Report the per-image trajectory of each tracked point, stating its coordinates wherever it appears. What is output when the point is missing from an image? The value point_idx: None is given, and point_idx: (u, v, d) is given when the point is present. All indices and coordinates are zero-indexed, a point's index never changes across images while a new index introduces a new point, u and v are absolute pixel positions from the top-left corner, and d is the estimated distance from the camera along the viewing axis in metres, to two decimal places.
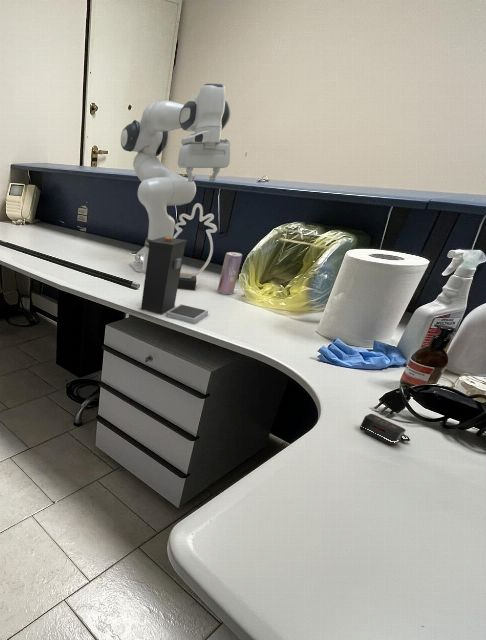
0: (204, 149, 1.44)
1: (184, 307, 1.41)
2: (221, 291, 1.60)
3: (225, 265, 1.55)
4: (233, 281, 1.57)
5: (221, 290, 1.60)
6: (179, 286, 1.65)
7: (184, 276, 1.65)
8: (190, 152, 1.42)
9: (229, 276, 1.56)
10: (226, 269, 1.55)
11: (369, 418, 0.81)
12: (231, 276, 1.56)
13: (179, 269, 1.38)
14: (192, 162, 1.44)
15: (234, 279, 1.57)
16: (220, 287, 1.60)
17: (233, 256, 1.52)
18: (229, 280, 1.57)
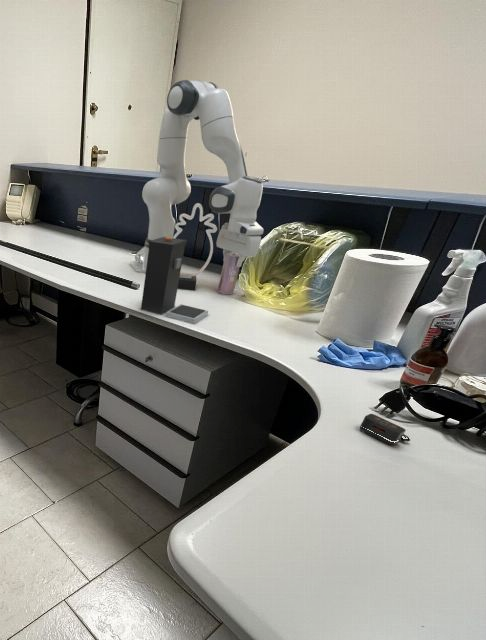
0: None
1: (184, 307, 1.41)
2: (221, 291, 1.60)
3: (225, 265, 1.55)
4: (233, 281, 1.57)
5: (221, 290, 1.60)
6: (179, 286, 1.65)
7: (184, 276, 1.65)
8: None
9: (229, 276, 1.56)
10: (226, 269, 1.55)
11: (369, 418, 0.81)
12: (231, 276, 1.56)
13: (179, 269, 1.38)
14: None
15: (234, 279, 1.57)
16: (220, 287, 1.60)
17: (233, 256, 1.52)
18: (229, 280, 1.57)
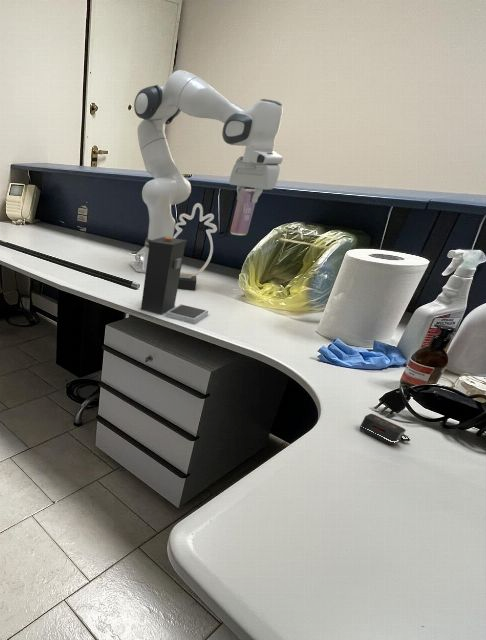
0: None
1: (184, 307, 1.41)
2: (234, 232, 1.49)
3: (239, 202, 1.44)
4: (247, 220, 1.46)
5: (234, 231, 1.49)
6: (179, 286, 1.65)
7: (184, 276, 1.65)
8: None
9: (243, 214, 1.45)
10: (241, 206, 1.44)
11: (369, 418, 0.81)
12: (245, 214, 1.45)
13: (179, 269, 1.38)
14: None
15: (249, 218, 1.45)
16: (234, 228, 1.49)
17: (248, 191, 1.41)
18: (243, 219, 1.46)
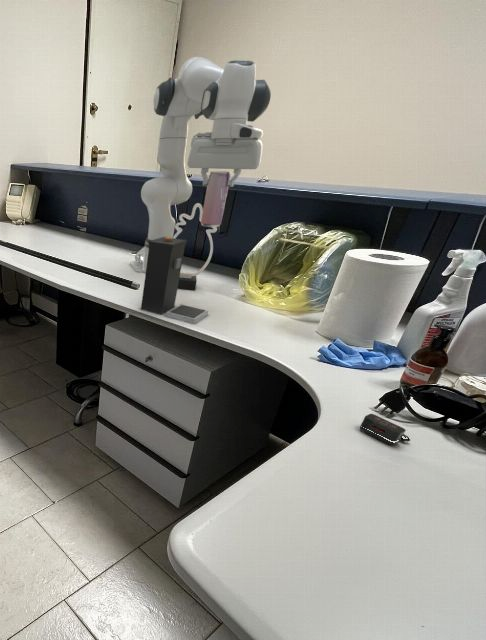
0: None
1: (184, 307, 1.41)
2: (211, 224, 1.24)
3: (215, 187, 1.20)
4: (223, 208, 1.23)
5: (211, 222, 1.24)
6: (179, 286, 1.65)
7: (184, 276, 1.65)
8: None
9: (220, 201, 1.21)
10: (217, 193, 1.20)
11: (369, 418, 0.81)
12: (222, 201, 1.21)
13: (179, 269, 1.38)
14: None
15: (224, 205, 1.23)
16: (210, 219, 1.24)
17: (225, 173, 1.17)
18: (220, 207, 1.22)
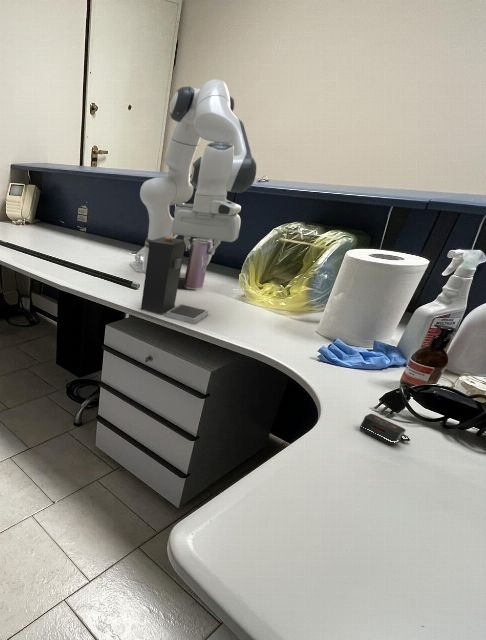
0: None
1: (184, 307, 1.41)
2: (193, 287, 1.31)
3: (196, 255, 1.26)
4: None
5: (193, 286, 1.31)
6: (179, 286, 1.65)
7: (184, 276, 1.65)
8: None
9: (202, 267, 1.28)
10: (199, 260, 1.27)
11: (369, 418, 0.81)
12: (204, 267, 1.28)
13: (179, 269, 1.38)
14: None
15: (205, 270, 1.30)
16: (192, 282, 1.30)
17: (206, 243, 1.24)
18: (202, 273, 1.29)
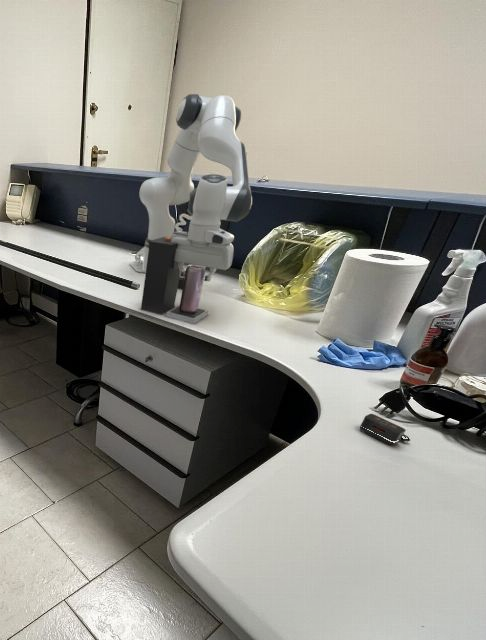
0: None
1: None
2: (188, 311, 1.35)
3: (191, 281, 1.30)
4: (199, 297, 1.34)
5: (188, 310, 1.35)
6: (179, 286, 1.65)
7: (184, 276, 1.65)
8: None
9: (196, 292, 1.32)
10: (193, 285, 1.31)
11: (369, 418, 0.81)
12: (198, 292, 1.32)
13: None
14: None
15: None
16: (187, 306, 1.35)
17: (200, 269, 1.28)
18: (196, 297, 1.33)
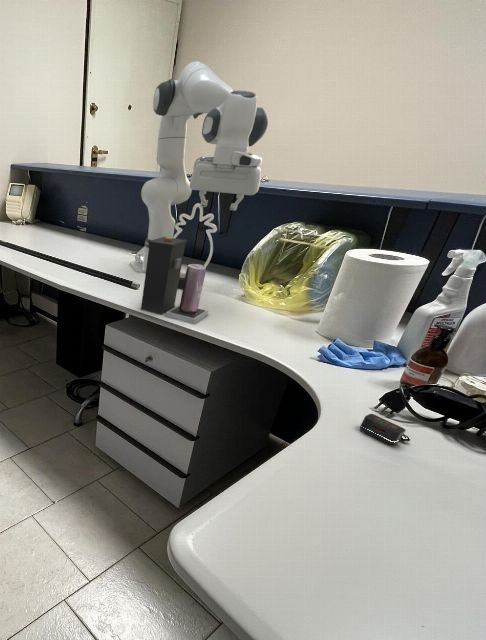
0: None
1: None
2: (188, 311, 1.35)
3: (191, 281, 1.30)
4: (199, 297, 1.34)
5: (188, 310, 1.35)
6: (179, 286, 1.65)
7: (184, 276, 1.65)
8: None
9: (196, 292, 1.32)
10: (194, 285, 1.31)
11: (369, 418, 0.81)
12: (198, 292, 1.32)
13: (179, 269, 1.38)
14: None
15: (200, 295, 1.34)
16: (187, 306, 1.35)
17: (200, 269, 1.28)
18: (196, 297, 1.33)
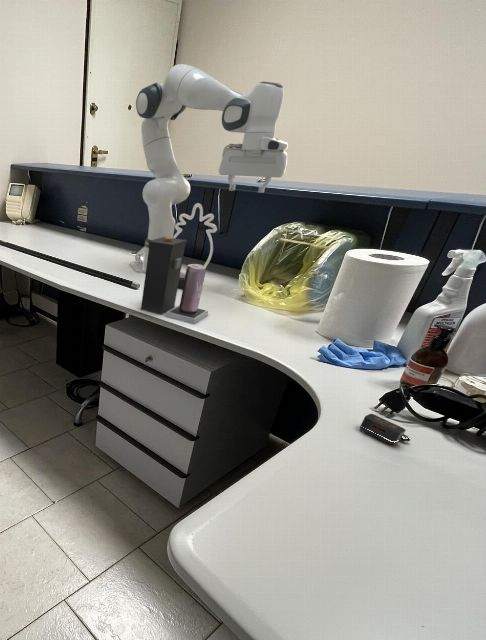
0: None
1: None
2: (188, 311, 1.35)
3: (191, 281, 1.30)
4: (199, 297, 1.34)
5: (188, 310, 1.35)
6: (179, 286, 1.65)
7: (184, 276, 1.65)
8: None
9: (196, 292, 1.32)
10: (194, 285, 1.31)
11: (369, 418, 0.81)
12: (198, 292, 1.32)
13: (179, 269, 1.38)
14: None
15: (200, 295, 1.34)
16: (187, 306, 1.35)
17: (200, 269, 1.28)
18: (196, 297, 1.33)
